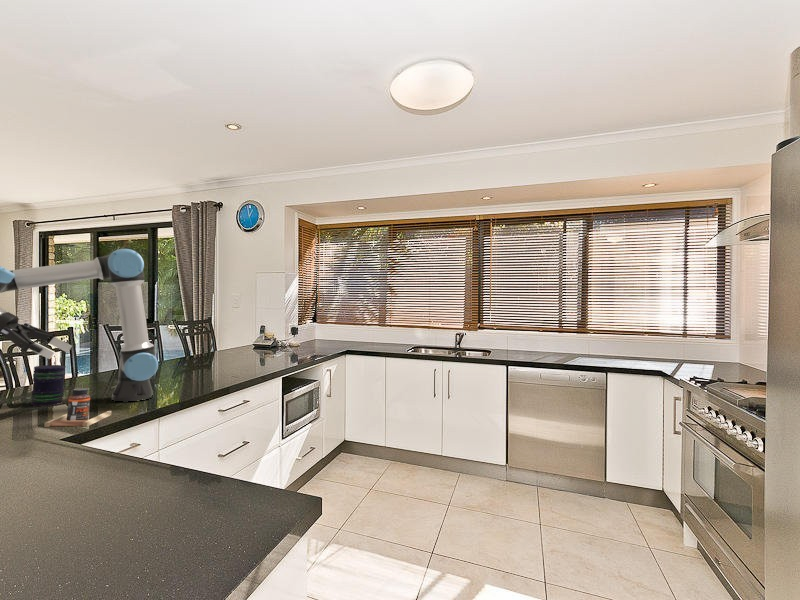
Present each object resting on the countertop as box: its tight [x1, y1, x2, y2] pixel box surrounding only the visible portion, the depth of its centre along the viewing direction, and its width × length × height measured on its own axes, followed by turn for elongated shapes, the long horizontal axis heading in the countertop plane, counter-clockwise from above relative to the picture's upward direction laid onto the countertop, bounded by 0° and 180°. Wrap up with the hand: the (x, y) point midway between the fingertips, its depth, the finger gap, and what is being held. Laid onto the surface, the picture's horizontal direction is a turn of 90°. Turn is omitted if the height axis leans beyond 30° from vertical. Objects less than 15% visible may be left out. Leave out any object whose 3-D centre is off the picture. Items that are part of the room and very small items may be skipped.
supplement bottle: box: [66, 387, 91, 420], centre depth 139 cm, size 6×6×11 cm
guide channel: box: [43, 410, 112, 428], centre depth 140 cm, size 16×12×1 cm
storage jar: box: [30, 364, 66, 407], centre depth 161 cm, size 10×10×15 cm
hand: (61, 352), depth 144 cm, fingers open, 13 cm apart
